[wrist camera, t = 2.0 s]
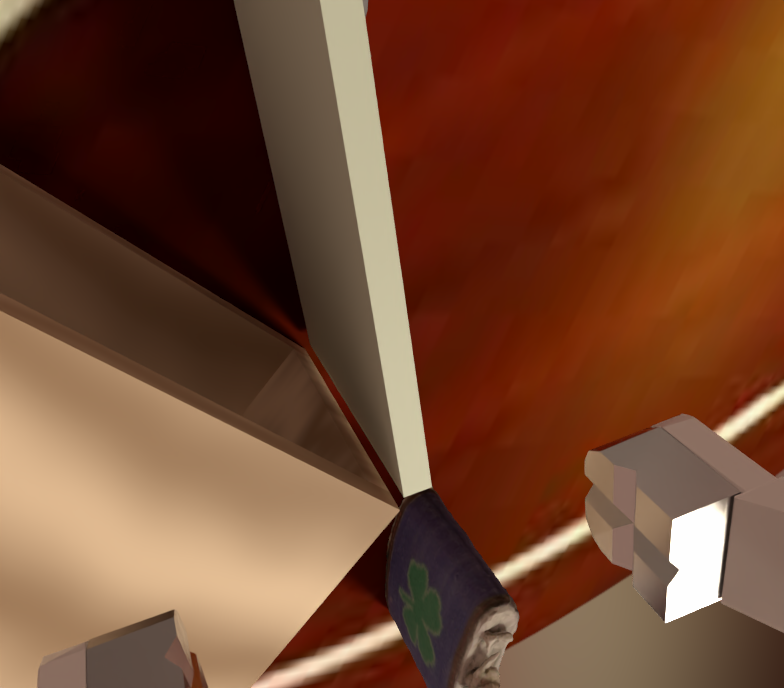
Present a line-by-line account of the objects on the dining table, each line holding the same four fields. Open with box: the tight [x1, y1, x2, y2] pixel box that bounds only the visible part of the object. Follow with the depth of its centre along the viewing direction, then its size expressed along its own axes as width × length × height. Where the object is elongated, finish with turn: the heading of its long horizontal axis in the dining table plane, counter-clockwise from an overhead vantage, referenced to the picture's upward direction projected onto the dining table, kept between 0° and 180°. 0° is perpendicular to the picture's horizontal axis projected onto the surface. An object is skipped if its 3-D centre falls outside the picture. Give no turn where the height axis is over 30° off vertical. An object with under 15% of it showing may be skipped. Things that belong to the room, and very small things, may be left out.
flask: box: [385, 486, 519, 688], centre depth 38 cm, size 9×3×11 cm, turn 171°
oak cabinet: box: [0, 164, 400, 688], centre depth 26 cm, size 14×17×12 cm
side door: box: [234, 0, 432, 497], centre depth 25 cm, size 2×17×12 cm, turn 7°
